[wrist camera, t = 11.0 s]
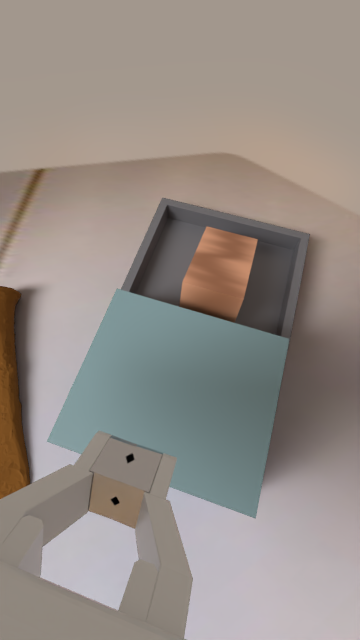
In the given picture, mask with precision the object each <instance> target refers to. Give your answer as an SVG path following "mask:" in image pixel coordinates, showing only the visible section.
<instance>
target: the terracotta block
mask: <svg viewBox="0 0 360 640" xmlns="http://www.w3.org/2000/svg"><path fill="white" fill-rule="evenodd" d="M257 241H258V239H255V238H251V237H247V236H243V235H239V234H235V233H231V232H227V231H223V230H219V229H216V228H212V227H208V226H207V227H206V229H205V231H204V233H203V236H202V238H201V240H200V243H199V245H198V247H197V250H196V252H195V254H194V256H193V259H192V261H191V263H190V266H189V268H188V270H187V273H186V275H185V277H184V279H183V282H182V289H181V297H180V305H179V307H182V308H185V309H189V310H192V311H195V312H199V313H202V314H206V315H209V316H213V317H216V318H219V319H223V320H226V321H230V322H233V323H235V320H236V318H237V315H238V312H239V310H240V307H241V305H242V302H243V300H244V296H245V291H246V287H247V283H248V279H249V274H250V270H251V266H252V262H253V258H254V253H255V249H256V245H257Z"/></svg>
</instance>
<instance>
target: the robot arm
mask: <svg viewBox="0 0 360 640" xmlns="http://www.w3.org/2000/svg"><path fill="white" fill-rule="evenodd" d="M176 461H177V458H176V457H173V456H171V455H168V454H165V453H164V454H163V453H162V452H159V451H156V450H153V449H150V448H147V447H144V446H141V445H138V444H135V443H132V442H129V441H127V440H124V439H121V438H119V437H116V436H113V435H110V434H108V433H105V432H102V431H100V430H99V431H98V432H97V433H96V434H95V435H94V437H93V438H92V440H91V441H90V443H89V444H88V446H87V447H86V448H85V450H84V451H83V453H82V454H81V456H80V457H79V459H78V460H77V462H76V463H75V465H71V464H69V465H67V466H65V467H63V468H61V469H59V470H58V471H56V472H54V473H52V474H50V475H48V476H46V477H44V478H42V479H40V480H38V481H36V482H34V483H32V484H30V485H28V486H26V487H24V488H22V489H20V490H18V491H16V492H14V493H12V494H10V495H8V496H6V497H4V498H2V499H0V640H186V639H184V634H185V627H186V621H187V614H188V607H189V601H190V594H191V587H192V581H193V578H192V574H191V571H190V568H189V564H188V561H187V558H186V554H185V551H184V548H183V544H182V541H181V538H180V534H179V531H178V527H177V524H176V521H175V517H174V514H173V511H172V507H171V504H170V501H168V500H166V496H167V492H168V489H169V485H170V482H171V478H172V475H173V471H174V468H175V464H176ZM88 511H90V512H93V513H96V514H99V515H102V516H104V517H107V518H110V519H113V520H115V521H117V522H120V523H122V524H125V525H127V526H129V527H132V528H134V529H135V535H136V542H137V550H138V557H139V560H138V561H136V562H135V563H134V566H133V569H132V572H131V575H130V578H129V581H128V584H127V587H126V590H125V593H124V596H123V599H122V602H121V604H120V607H119V610H116V609H113V608H111V607H109V606H106V605H104V604H102V603H99V602H97V601H95V600H92V599H90V598H87V597H85V596H83V595H80V594H78V593H76V592H73V591H71V590H69V589H66V588H64V587H62V586H59V585H57V584H54V583H52V582H50V581H47V580H45V579H43V578H40V575H41V563H42V547H43V546H44V545H46V544H47V543H48V542H50V541H51V540H52V539H53V538H55V537H56V536H57V535H59V534H60V533H61V532H63V531H64V530H65V529H67V528H68V527H69V526H70V525H72V524H73V523H74V522H76V521H77V520H78V519H80V518H81V517H82V516H84V515H85V514H86V513H87V512H88Z"/></svg>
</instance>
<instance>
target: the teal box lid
mask: <svg viewBox="0 0 360 640" xmlns="http://www.w3.org/2000/svg"><path fill="white" fill-rule="evenodd" d="M288 344H289V339H288V338H284V337H281V336H278V335H274V334H271V333H267V332H264V331H260V330H257V329H254V328H250V327H247V326H243V325H240V324H236V323H233V322H230V321H226V320H223V319H219V318H216V317H213V316H209V315H206V314H202V313H199V312H195V311H192V310H189V309H185V308H182V307H178V306H175V305H171V304H168V303H165V302H161V301H158V300H154V299H151V298H148V297H144V296H141V295H137V294H134V293H130V292H127V291H124V290H120V289H117V290H116V292H115V294H114V296H113V298H112V301H111V303H110V305H109V307H108V309H107V311H106V314H105V316H104V318H103V320H102V322H101V325H100V327H99V329H98V331H97V333H96V335H95V338H94V340H93V342H92V344H91V346H90V349H89V351H88V353H87V355H86V357H85V360H84V362H83V364H82V366H81V368H80V370H79V373H78V375H77V377H76V379H75V381H74V384H73V386H72V388H71V390H70V392H69V394H68V397H67V399H66V401H65V403H64V405H63V408H62V410H61V412H60V414H59V416H58V418H57V421H56V423H55V425H54V427H53V429H52V432H51V434H50V436H49V438H48V440H47V442H50V443H52V444H55V445H58V446H60V447H63V448H66V449H69V450H71V451H74V452H77V453H79V454H82V453H83V451H84V450H85V448H86V447H87V446H88V444H89V443H90V441H91V440H92V438H93V437H94V435H95V434H96V433H97V432H98V431H99V430H100V431H102V432H105V433H108V434H110V435H113V436H116V437H119V438H121V439H124V440H127V441H129V442H132V443H135V444H138V445H141V446H144V447H147V448H150V449H153V450H156V451H159V452H162V453H163V454H164V453H165V454H168V455H171V456H173V457H176V458H177V461H176V464H175V468H174V471H173V475H172V478H171V482H170V485H169V487H172V488H174V489H177V490H180V491H182V492H185V493H188V494H191V495H193V496H196V497H199V498H201V499H204V500H207V501H210V502H212V503H215V504H218V505H220V506H223V507H226V508H229V509H231V510H234V511H237V512H239V513H242V514H245V515H248V516H250V517H253V518H256V513H257V508H258V503H259V498H260V492H261V487H262V482H263V476H264V471H265V466H266V460H267V455H268V450H269V445H270V439H271V434H272V429H273V423H274V418H275V413H276V408H277V402H278V397H279V392H280V386H281V381H282V376H283V370H284V365H285V360H286V355H287V349H288Z"/></svg>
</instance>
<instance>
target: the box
mask: <svg viewBox="0 0 360 640" xmlns="http://www.w3.org/2000/svg"><path fill="white" fill-rule="evenodd" d="M207 226H208V227H212V228H216V229H219V230H223V231H227V232H231V233H235V234H239V235H243V236H247V237H251V238H255V239H258V241H257V245H256V249H255V253H254V258H253V262H252V266H251V270H250V274H249V279H248V283H247V287H246V291H245V296H244V300H243V302H242V305H241V307H240V310H239V312H238V315H237V318H236V320H235V323H236V324H240V325H243V326H247V327H250V328H254V329H257V330H260V331H264V332H267V333H271V334H274V335H278V336H281V337H284V338H288V339H289V342H290V337H291V332H292V326H293V321H294V316H295V310H296V305H297V300H298V294H299V289H300V284H301V278H302V273H303V268H304V262H305V257H306V252H307V246H308V241H309V236H310V234H307V233H303V232H299V231H295V230H291V229H287V228H283V227H279V226H275V225H271V224H267V223H263V222H259V221H255V220H251V219H247V218H243V217H239V216H235V215H231V214H227V213H223V212H219V211H215V210H211V209H207V208H202V207H198V206H194V205H190V204H186V203H182V202H178V201H174V200H170V199H166V198H162V200H161V202H160V204H159V206H158V209H157V211H156V213H155V215H154V217H153V220H152V222H151V224H150V226H149V228H148V231H147V233H146V235H145V237H144V240H143V242H142V244H141V246H140V248H139V251H138V253H137V255H136V257H135V259H134V262H133V264H132V266H131V268H130V271H129V273H128V275H127V277H126V279H125V282H124V284H123V286H122V288H121V290H124V291H127V292H130V293H134V294H137V295H141V296H144V297H148V298H151V299H154V300H158V301H161V302H165V303H168V304H171V305H175V306H178V307H179V305H180V297H181V289H182V282H183V279H184V277H185V275H186V273H187V270H188V268H189V266H190V263H191V261H192V259H193V256H194V254H195V252H196V250H197V247H198V245H199V243H200V240H201V238H202V236H203V233H204V231H205V229H206V227H207ZM288 348H289V344H288ZM287 351H288V349H287Z"/></svg>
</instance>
